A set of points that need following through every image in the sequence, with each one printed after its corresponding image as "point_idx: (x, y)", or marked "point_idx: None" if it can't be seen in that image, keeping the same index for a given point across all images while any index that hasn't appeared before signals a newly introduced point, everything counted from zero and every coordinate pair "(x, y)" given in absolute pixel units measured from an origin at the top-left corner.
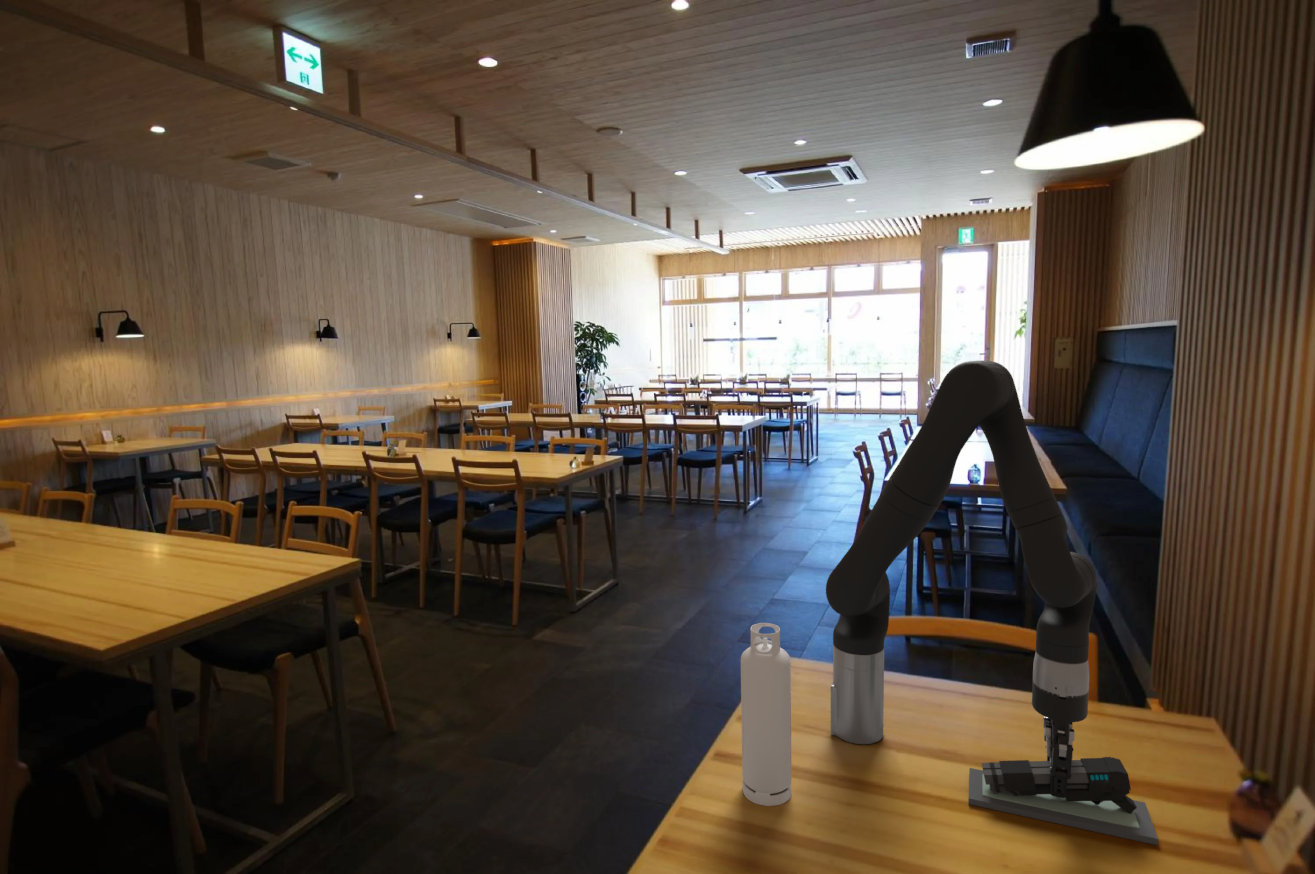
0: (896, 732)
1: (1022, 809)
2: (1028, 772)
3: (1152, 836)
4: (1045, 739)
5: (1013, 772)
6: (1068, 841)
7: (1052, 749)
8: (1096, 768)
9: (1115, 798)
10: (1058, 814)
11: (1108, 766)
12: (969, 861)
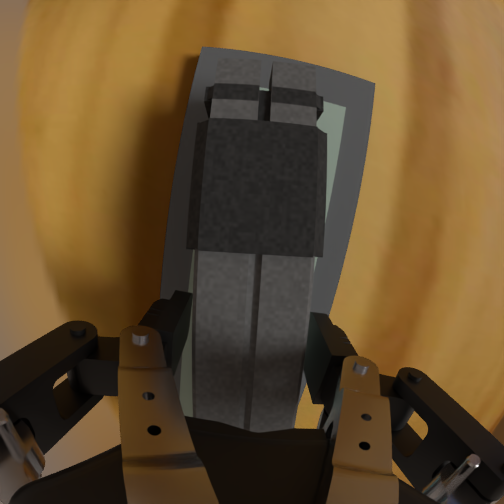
0: (469, 7)
1: (172, 190)
2: (201, 232)
3: None
4: (340, 396)
5: (210, 165)
6: (105, 281)
7: (334, 384)
8: None
9: None
10: (174, 288)
11: None
12: (22, 73)
